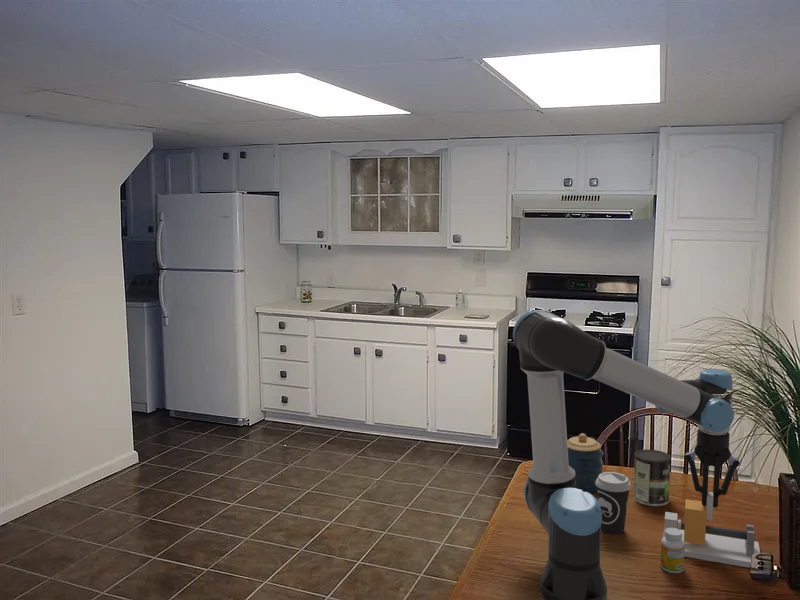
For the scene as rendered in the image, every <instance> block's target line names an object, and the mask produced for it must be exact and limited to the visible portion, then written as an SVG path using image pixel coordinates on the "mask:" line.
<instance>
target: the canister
mask: <svg viewBox="0 0 800 600" xmlns="http://www.w3.org/2000/svg"><path fill="white" fill-rule="evenodd" d="M567 447H568V463H569V466H570V467H572V468H573V469H574V470H575V474H576V488H577V489H581V490H583V492H588V493H590V494H592V495H594V494H598V492H597V486H596V484H595V482H596V479H597V478H598V476H599V475H600V474H601V473H604V471H603V468H604V466H603V465H604V461H603V460H602V459H603V456H604V454H605V452H604V451H603V450H602V449H601V448H602V445H601V443H600V442H598V441H597V440H596V439H594V438H593V437H588V436H587V435H586V433H583V432H582V433H580V434H579V435H577V436H573V437H572V436H571V437H570V438H569V439H568V438H567Z"/></svg>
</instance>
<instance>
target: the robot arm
mask: <svg viewBox="0 0 800 600" xmlns="http://www.w3.org/2000/svg"><path fill="white" fill-rule="evenodd" d="M512 339H513V342H514V344H515V346H516V348H517V349H518V351H519V352H518V354H519V367H520V370H521V371H523V372H524V373H525V374H526V375H527V376H526V379H527V391H528V405H529V417H530V418H529V419H530V434H531V435H530V436H531V448H532V464H533V466H532V467H530V469H528V471H527V476H528V477H527V480H526V482H525V484H524V485H525V486H524V490H523V495H524V500H525V503H526V506H527V507H528V509H529V511H530V512H531V513H532V515H533V516H534V517H535V518H536V519H537V520H538V522H539V523H540V525H541V526H542V527H543V528H544V530H545V531H546V532H547V534H548V558H547V561H546V563H545V566H544V570H543V573H542V574H541V577H540V587H539V588H540V589H539V590H540V593H541V596H542V595H543V596H542V597H543V598H544V599H545V600H607V599H608V587H607V582H606V579H605V577H604V573H603V571H602V568H601V542H602V540H601V539H602V538H601V537H602V530H601V523H602V515H601V507H600V503H599V502H598V498H596V497H595V496H594V494H590V493H588V492H583V490H581V489H577V488H576V474H575V470H574V469H573V468H572V467H570V466H569V463H568V447H567V440H568V435H567V434H568V433H567V419H566V416H567V415H566V414H567V413H566V401H565V399H566V398H565V385H564V383H565V382H564V373H566V374H569V375H572V376H575V377H577V378H579V379H582V380H584V381H589V380H591V379H593V380H595V381H598V382H600V383H602V384H605V385H607V386H609V387H612V388H614V389H616V390H619V391H621V392H624V393H625V394H629V395H631V396H633V397H635V398H638V399H640V400H642V401H644V402H647V403H649V404H651V405H653V406H655V408H656V409H657V410H658V411H660V412H668V413H673V414H674V415H677V416H679V417H682V418H683V419H685V420H688V421H690V422H693V423H695V424H697V428H698V429H697V431H696V434H697V435H696V445H695V447H694V448H693V449H694V450H691V451H690V452H689V451H686V452H685V453H684V454H685V460H686V461H687V463H688V464H689V469H690V473H691V478H692V482H693V486H694V487H693V488H694V491H696V492H699V493H700V494H701V501H702V506H706V509H707V514H706V521H713V514H714V513H713V511H714V508H718V507H719V497H720V496H726V495H727V494H728V490H729V487H730V484H731V481H732V478H733V475H734V473H735V470H736V469H737V468H738V467H739V466H740V459H739V458H738V457H735V456H734V455H732V453H731V450H730V437H731V434H730V433H729V432H730V431H731V425H732V423H733V422H734V419H735V411H734V408H733V407H732V401H730V400H729V399H731V398H732V399H733V392H732V393H730V394H728V395H726V396H725V397H724V398H718V397H716V396H714V395H712V394H724V393H725V392H726V390H727V389H731V390H733V391H734V389H733V376H732V374H731V373H730V372H728V371H727V370H723V369H718V368H717V369H716V368H708V369H702V370H701V371H700V373H699V377H698V378H697V379H696V378H695V379H685V380H684V379H681V380H680V379H677V378H676V377H673V376H671V375H669V374H666V373H664V372H662V371H660V370H657V369H655V368H653V367H650V366H648V365H647V364H644V363H641V362H639V361H637V360H634V359H633V358H630V357H628V356H626V355H623V354H621V353H619V352H617V351H615V350H612V349H611V348H608V347H606V346H607V345H606V343H605V342H604V341H603V340H602V339H599V338H597V337H594V336H592V335H591V334H589V333H587V332H586V331H584V330H583V329H581V328H579V327H578V326H577V325H575V324H573V323H572V322H571V321H569V320H567V319H566V318H565V319H564V318H562V317H560V316H558V315H556V314H555V313H553V312H551V311H548V310H543V309H542V310H541V309H534V310H531V311H528V312H527V311H526V312H525V313H524V314H522V315H521V316H520V317H519V318H518V320H517V321H516V323H515V324H514V326H513V329H512ZM696 457H697V458H698V459H699V461H700V463H701V464H703V466H702V468H703V471H702V485H700V480H699V476H698V471H697V466H696V461H695V460H696ZM727 461H728V467H727V470H726V473H725V476H724V479H723V481H722V484H721V487H720V473H721V466H723V465H724V464H725V463H726V462H727ZM710 467H714V468H713V482H712V483H713V487H712V491H708V490H709V489H708V487H709V472H710V470H709V469H710Z"/></svg>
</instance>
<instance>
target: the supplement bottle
mask: <svg viewBox="0 0 800 600" xmlns="http://www.w3.org/2000/svg"><path fill="white" fill-rule="evenodd" d="M684 549H685V543H684V541H683V540H682V532H681V531H680V530H679V529H676V528H667V529H665V537H662V538H661V544H660V567H661V569H662V570H663V571H665V572H667V573H671V574H679V573H683V571H684V569H685V557H684Z"/></svg>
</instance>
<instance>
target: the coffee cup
mask: <svg viewBox="0 0 800 600" xmlns="http://www.w3.org/2000/svg"><path fill="white" fill-rule="evenodd" d="M595 484H596V486H597V500H598V502H599V503H600V507H601V515H602V523H601V532H603V533H606V534H610V535H620V534H622V533H624V531H625V527H626V518H627V512H628V511H627V510H628V503H629V495H630V490H631V489H632V483H631V481H630V480H629V477H628V476H627V475H625V474H623V473H620V472H615V471H605V472H603V473H601V474H600V475H599V476H598V478H597V479H596V482H595Z"/></svg>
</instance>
